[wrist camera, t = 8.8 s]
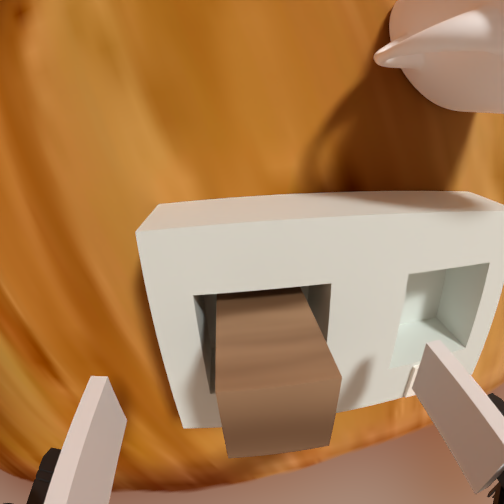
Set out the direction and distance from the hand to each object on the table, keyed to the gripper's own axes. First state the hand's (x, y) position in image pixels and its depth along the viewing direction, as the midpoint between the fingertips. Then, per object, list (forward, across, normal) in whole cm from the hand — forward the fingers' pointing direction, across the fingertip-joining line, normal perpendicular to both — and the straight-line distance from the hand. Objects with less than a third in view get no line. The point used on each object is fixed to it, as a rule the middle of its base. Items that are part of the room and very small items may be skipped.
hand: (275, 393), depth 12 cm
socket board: (+8, +5, 0) cm, 10 cm away
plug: (+7, 0, 0) cm, 7 cm away
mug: (+8, +11, +15) cm, 20 cm away
